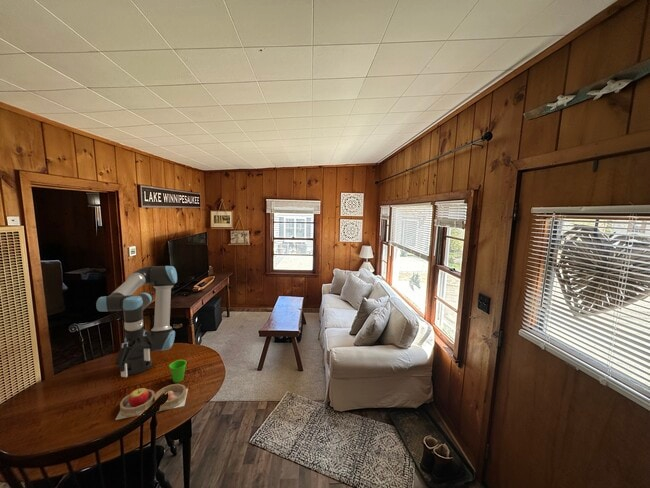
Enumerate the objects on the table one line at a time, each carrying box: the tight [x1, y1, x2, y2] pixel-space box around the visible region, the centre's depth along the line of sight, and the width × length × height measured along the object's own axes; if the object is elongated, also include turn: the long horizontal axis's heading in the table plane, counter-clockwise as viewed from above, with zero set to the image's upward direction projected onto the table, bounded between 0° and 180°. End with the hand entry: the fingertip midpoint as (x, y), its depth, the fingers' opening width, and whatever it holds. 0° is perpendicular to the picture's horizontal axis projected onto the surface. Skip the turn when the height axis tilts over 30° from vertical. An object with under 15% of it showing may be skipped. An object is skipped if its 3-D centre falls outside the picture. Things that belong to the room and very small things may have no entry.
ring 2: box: [154, 383, 187, 411], centre depth 135 cm, size 14×14×4 cm
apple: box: [128, 385, 149, 407], centre depth 131 cm, size 8×8×10 cm
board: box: [114, 388, 189, 421], centre depth 133 cm, size 29×14×1 cm, turn 111°
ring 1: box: [119, 388, 156, 418], centre depth 130 cm, size 14×14×4 cm
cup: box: [168, 359, 188, 384], centre depth 152 cm, size 9×9×11 cm
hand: (136, 368), depth 129 cm, fingers open, 13 cm apart
